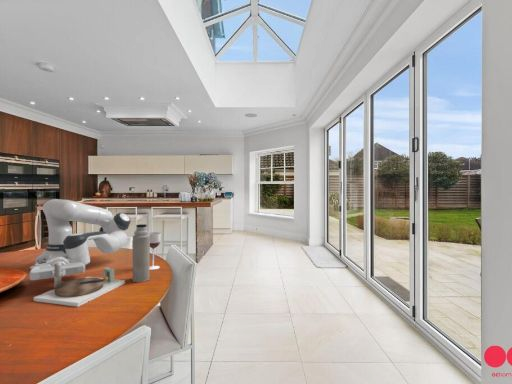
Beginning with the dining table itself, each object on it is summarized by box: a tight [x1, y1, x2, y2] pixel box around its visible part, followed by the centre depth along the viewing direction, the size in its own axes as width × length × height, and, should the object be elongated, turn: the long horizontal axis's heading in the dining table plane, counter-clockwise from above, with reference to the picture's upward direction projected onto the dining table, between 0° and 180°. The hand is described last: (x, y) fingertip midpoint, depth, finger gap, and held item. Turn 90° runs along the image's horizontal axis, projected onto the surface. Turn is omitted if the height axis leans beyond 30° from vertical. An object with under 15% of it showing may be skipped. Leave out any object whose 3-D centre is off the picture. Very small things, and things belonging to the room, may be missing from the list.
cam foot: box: [53, 263, 108, 297], centre depth 122 cm, size 20×18×12 cm
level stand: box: [33, 266, 126, 308], centre depth 123 cm, size 22×27×8 cm
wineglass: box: [148, 231, 162, 271], centre depth 161 cm, size 8×9×20 cm
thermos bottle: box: [131, 224, 151, 283], centre depth 140 cm, size 8×8×28 cm
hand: (59, 275), depth 119 cm, fingers closed, pressing on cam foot
